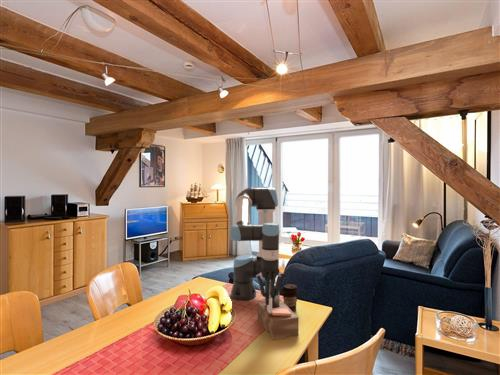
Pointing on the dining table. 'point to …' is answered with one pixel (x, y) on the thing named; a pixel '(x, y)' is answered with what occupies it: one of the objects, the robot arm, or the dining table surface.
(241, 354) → the dining table surface
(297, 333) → the hitch block
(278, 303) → the pin
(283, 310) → the keeper
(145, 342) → the dining table surface
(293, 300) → the coffee cup
